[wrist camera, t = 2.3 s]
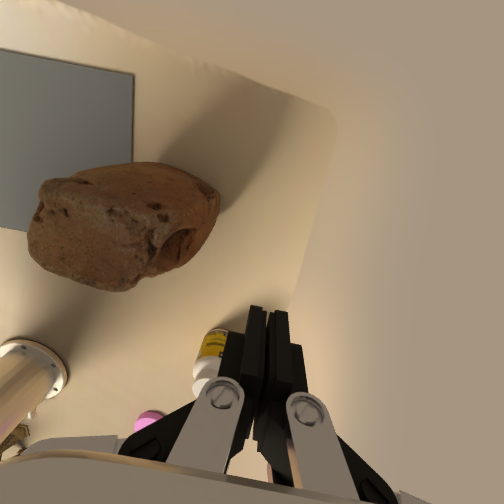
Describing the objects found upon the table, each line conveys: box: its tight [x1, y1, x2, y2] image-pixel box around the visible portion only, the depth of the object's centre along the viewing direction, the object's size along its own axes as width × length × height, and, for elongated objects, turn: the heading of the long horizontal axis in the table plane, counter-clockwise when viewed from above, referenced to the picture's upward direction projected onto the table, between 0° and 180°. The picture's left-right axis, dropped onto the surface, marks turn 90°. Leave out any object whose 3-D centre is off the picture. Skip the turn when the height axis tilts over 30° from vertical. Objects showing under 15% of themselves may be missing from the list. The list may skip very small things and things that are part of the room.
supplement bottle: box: [193, 329, 228, 398], centre depth 40 cm, size 5×5×10 cm
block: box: [27, 162, 220, 292], centre depth 28 cm, size 11×8×20 cm
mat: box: [0, 50, 134, 232], centre depth 36 cm, size 22×23×1 cm
